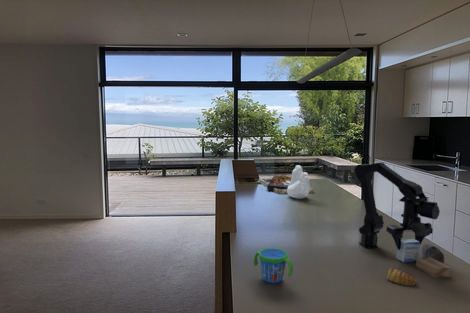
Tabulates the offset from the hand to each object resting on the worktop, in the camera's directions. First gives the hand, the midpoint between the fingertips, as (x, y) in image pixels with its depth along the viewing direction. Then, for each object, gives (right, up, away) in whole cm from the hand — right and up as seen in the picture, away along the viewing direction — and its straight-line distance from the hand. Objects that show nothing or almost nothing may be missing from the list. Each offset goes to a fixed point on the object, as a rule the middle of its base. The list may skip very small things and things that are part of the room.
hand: (407, 248), depth 149 cm
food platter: (-31, +13, +157) cm, 160 cm away
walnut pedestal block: (+4, -7, -11) cm, 13 cm away
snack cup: (-61, -6, -21) cm, 65 cm away
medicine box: (0, -5, 0) cm, 5 cm away
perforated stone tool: (+10, -6, 0) cm, 11 cm away
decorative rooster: (-26, +8, +113) cm, 116 cm away
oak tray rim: (-31, +13, +156) cm, 160 cm away
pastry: (-13, -7, -19) cm, 24 cm away
